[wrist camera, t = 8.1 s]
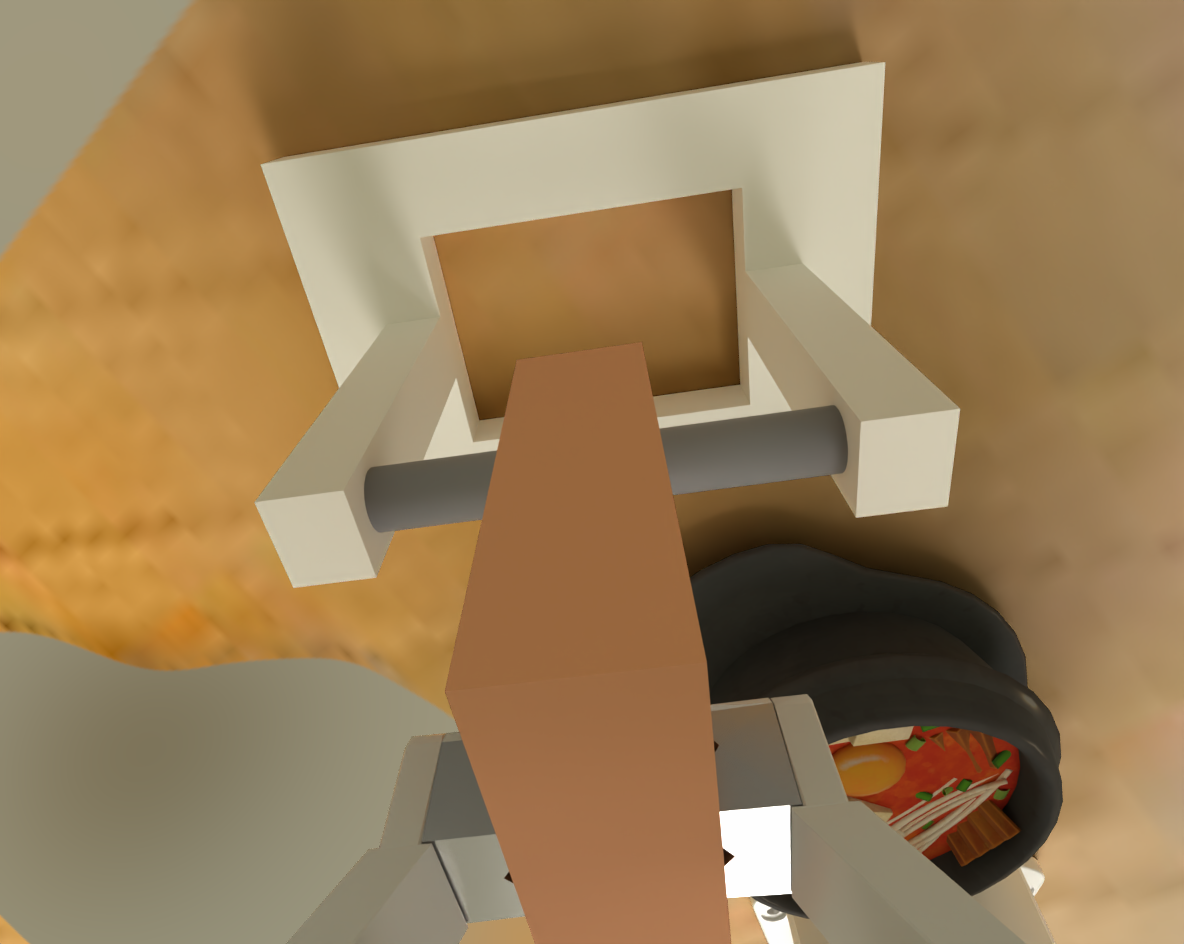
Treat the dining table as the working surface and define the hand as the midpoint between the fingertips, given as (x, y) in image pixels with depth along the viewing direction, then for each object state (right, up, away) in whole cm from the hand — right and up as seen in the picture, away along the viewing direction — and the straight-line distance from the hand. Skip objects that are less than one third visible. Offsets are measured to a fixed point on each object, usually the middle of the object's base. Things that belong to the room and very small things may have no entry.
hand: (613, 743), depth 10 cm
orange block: (0, +3, +6) cm, 7 cm away
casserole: (+13, -8, +29) cm, 32 cm away
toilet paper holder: (0, +10, +18) cm, 20 cm away
